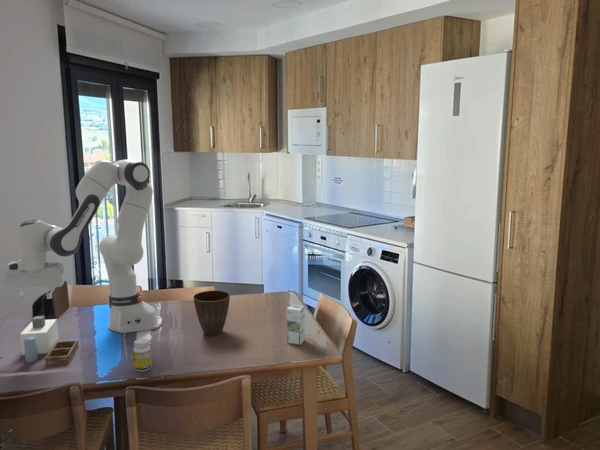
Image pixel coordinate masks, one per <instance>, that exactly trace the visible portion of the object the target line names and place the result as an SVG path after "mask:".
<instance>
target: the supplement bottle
mask: <svg viewBox="0 0 600 450" xmlns="http://www.w3.org/2000/svg"><path fill="white" fill-rule="evenodd" d="M151 352H152V349H151V346H150V339H148V338H138V339H135V340H134V347H133V361H134V362H133V364H134V370H135V371H136V372H147V371H149V370H151V369H152V353H151Z"/></svg>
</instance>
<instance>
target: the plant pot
mask: <svg viewBox="0 0 600 450" xmlns="http://www.w3.org/2000/svg"><path fill="white" fill-rule="evenodd" d="M230 298H231V294H230V293H229V292H227V291H224V290H205V291H200V292H198V293H195V294H194V295H193V302H194V309H195V313H196V316H197V319H198V323H199V325H200V328H201V330H202V333H203V334H204V335H205V336H208V337H209V336H211V337H212V336H219V335H221V334H222V332H223V330H224V326H225V324H226V321H227V317H228V312H229V307H230Z"/></svg>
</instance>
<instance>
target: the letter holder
mask: <svg viewBox="0 0 600 450" xmlns="http://www.w3.org/2000/svg"><path fill="white" fill-rule="evenodd" d="M68 288H69V287H68V282H67V280H64V284H63V285H62V286H61V287H55V289H54V290H53V292H52V298H51V299H47V295H46V294H47V293H50V291H51V290H48V292H45V293H43V294H41V295H40V296H38V298H36V299H35V300H34V301H33V303H32V305H31V309H32V312H31V313H32V319H33V318H34V317H35V316H45V320H50V319H57V320H58V319H59V318H60V317H61V315H62V314H64V313H65V312H66V311H67V310H68V309H69V308H70V298H69V297H70V296H69V290H68Z"/></svg>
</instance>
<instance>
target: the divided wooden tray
mask: <svg viewBox="0 0 600 450" xmlns="http://www.w3.org/2000/svg"><path fill="white" fill-rule="evenodd" d="M79 348H80V346H79V340H78V339H76V340H59V341H58V342H56V343H55V345H54V346H53V348H52V349H51V351H50V352H49V353H48V354H46V356H45V358H44V359H45V360H44V361H45V365H44V366H53V365H66V364H70V363H71V361H72V360H73V358H74V356H75V355H76V353H77V351H78V349H79Z"/></svg>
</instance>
